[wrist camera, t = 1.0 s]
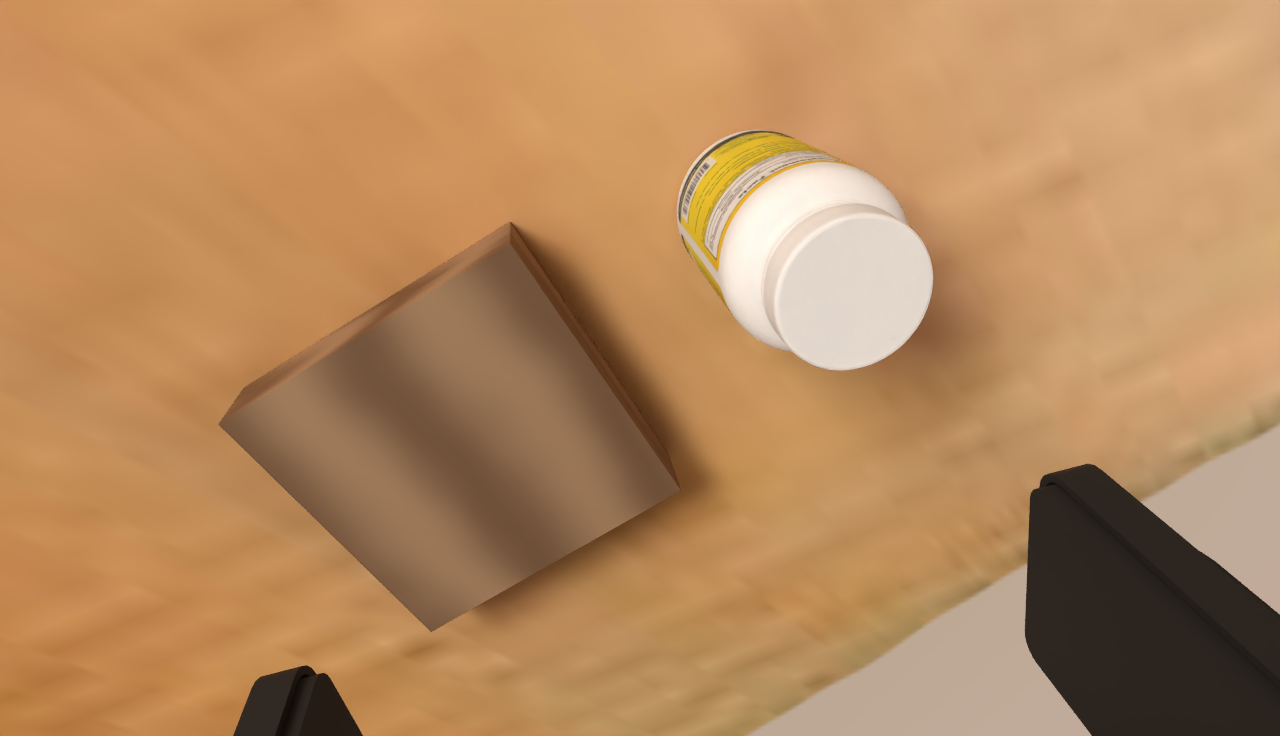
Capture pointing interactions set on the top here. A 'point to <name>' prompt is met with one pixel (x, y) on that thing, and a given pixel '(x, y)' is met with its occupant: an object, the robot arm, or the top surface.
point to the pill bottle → (804, 249)
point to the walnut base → (457, 433)
